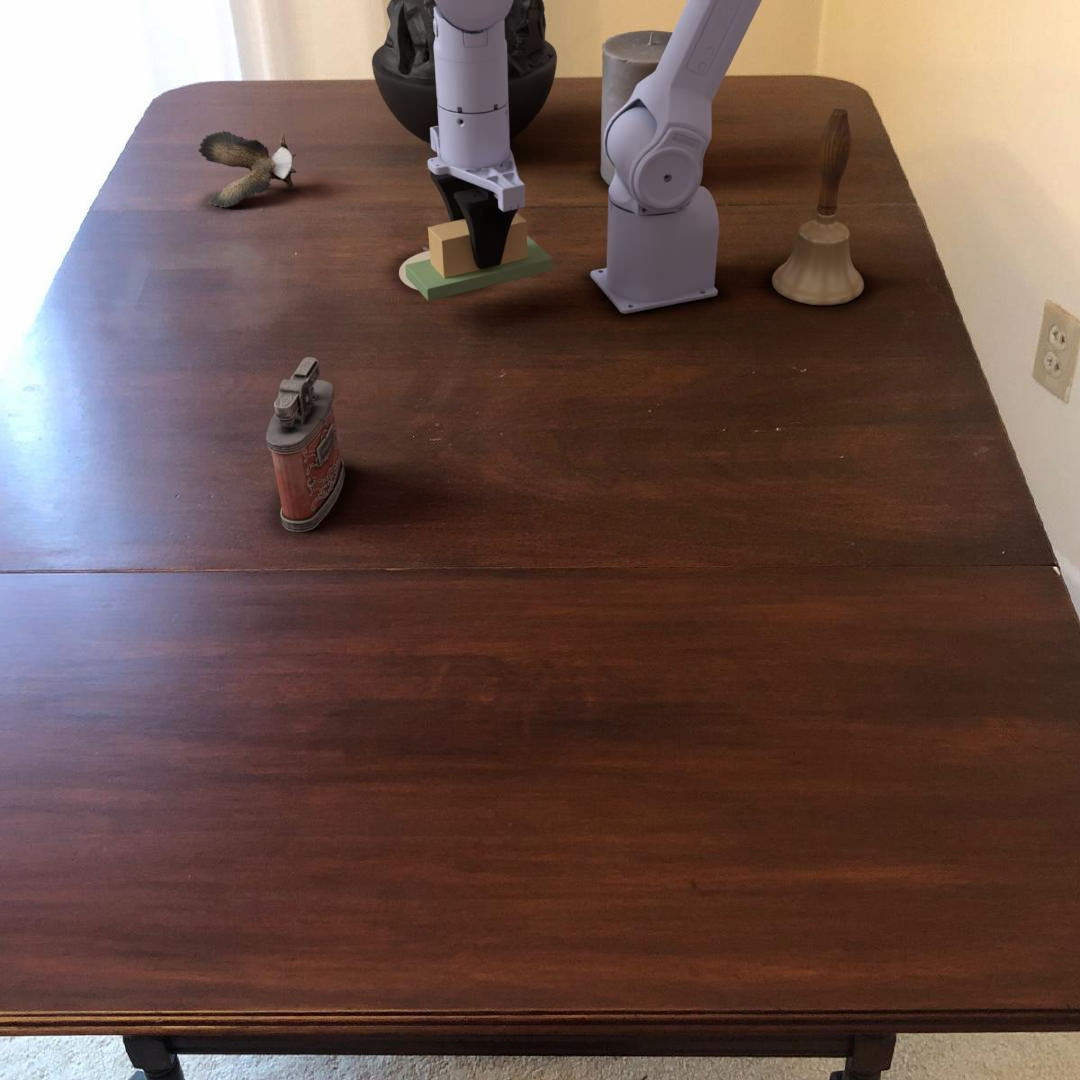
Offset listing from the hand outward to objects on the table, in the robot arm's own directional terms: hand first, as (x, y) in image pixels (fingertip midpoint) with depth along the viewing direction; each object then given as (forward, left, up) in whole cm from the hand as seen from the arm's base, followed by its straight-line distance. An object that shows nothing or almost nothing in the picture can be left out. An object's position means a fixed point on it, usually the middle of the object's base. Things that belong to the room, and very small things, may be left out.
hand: (479, 256), depth 106 cm
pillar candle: (-25, -21, -5) cm, 33 cm away
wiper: (0, 0, -2) cm, 2 cm away
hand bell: (-30, +7, -5) cm, 31 cm away
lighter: (+20, +22, -5) cm, 30 cm away
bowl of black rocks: (-10, -36, -5) cm, 38 cm away
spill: (+1, -8, -5) cm, 9 cm away
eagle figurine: (+15, -32, -5) cm, 36 cm away
